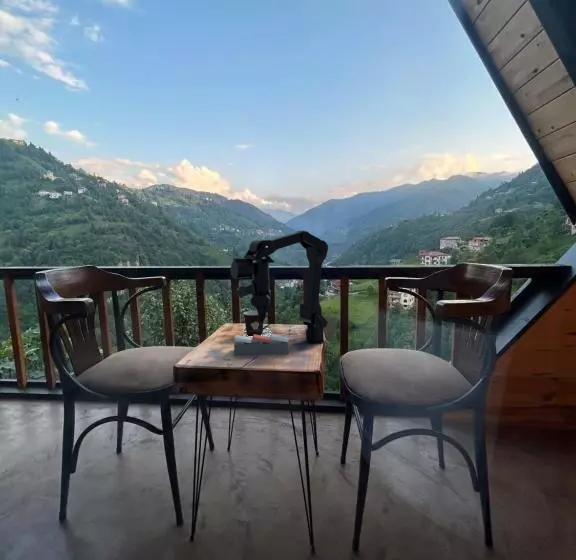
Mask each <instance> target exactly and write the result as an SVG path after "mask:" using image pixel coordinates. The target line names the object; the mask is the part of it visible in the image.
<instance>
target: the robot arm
mask: <svg viewBox="0 0 576 560" xmlns="http://www.w3.org/2000/svg"><path fill="white" fill-rule="evenodd" d="M298 243H299V245H300V246H301V247H302V248H303V249H305V251H306V252H305V254H306V259H307V260H308V271H307V272H308V274H307V285H306V286H307V287H306V296H305V300H304V302H303V303H300V304H299V312H298V314H299V318H300V319H301V320H302V322H303V324H304V325H305V326H306V328H305V341H306V342H307V343H308V344H324V343H325V340H324V337H325V336H324V328H327V326H328V320H327V319H326V318H325V317H324V316H323V313H322V312H323V311H322V309H323V308H322V306H321V304H320V303H321V302H320V292H321V291H320V289H321V278H322V268H323V263H324V261H325V260H326V258H327V256H328V251H329V244H328V243H327V242H326V241H325V240H321V238H318V237H317V236H315V235H314V234H311V233H310V232H309V231H307V230H297V231H296V232H291V233H288V234H285V235H281V236H278V237H274V238H270V239H268V238H267V239H256V240H253V241H251V242H250V244H249V248H248V250H247V252H246V253H245V255H244V256H243V257H242V258H238V257H236V258H235V257H234V258H233V259H232V262H231V265H230V267H229V269H230V275H231V277H232V278H233V279H234V280H235V279H247V278H252V280H251V281H250V282H251V283H249V284H245V285H244V284H242V285H239V286H238V288H237V289H236V292H237V293H236V294H237V296H238V298H239V299H242V298H243V299H244V297H246V296H249V295H250V294H251V298H250V305H251V306H253V307H254V308H255V309H256V311H257V312H258V316H259V320H260V322H264V321H265V320H264V319H266V318H265V316H266V315H267V313H268V310H269V308H270V305H271V296H272V293H271V292H272V290H270V266H269V264H274V263H275V260H274V259H272V258H271V255H272V254H274V253H275V252H276V251H277V250H278V251H279V250H280V249H283V248H286V247H289V246H293V245H296V244H298Z"/></svg>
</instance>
